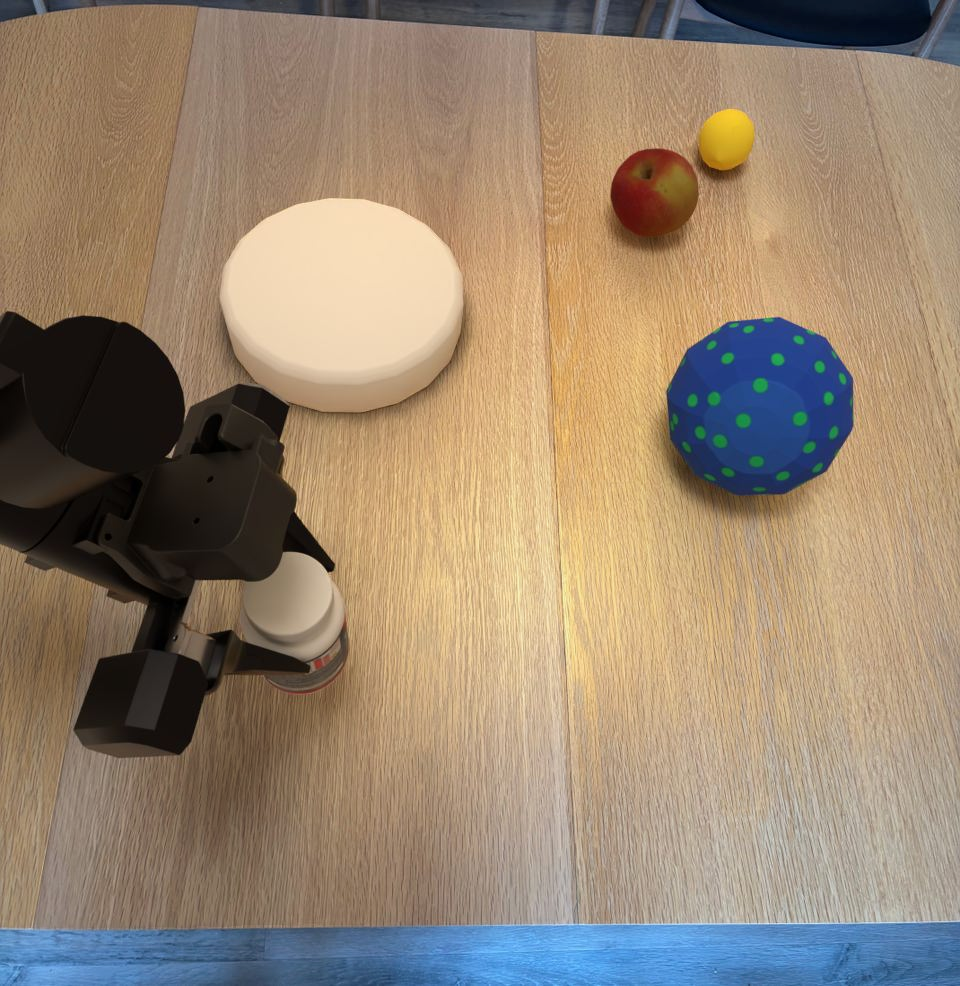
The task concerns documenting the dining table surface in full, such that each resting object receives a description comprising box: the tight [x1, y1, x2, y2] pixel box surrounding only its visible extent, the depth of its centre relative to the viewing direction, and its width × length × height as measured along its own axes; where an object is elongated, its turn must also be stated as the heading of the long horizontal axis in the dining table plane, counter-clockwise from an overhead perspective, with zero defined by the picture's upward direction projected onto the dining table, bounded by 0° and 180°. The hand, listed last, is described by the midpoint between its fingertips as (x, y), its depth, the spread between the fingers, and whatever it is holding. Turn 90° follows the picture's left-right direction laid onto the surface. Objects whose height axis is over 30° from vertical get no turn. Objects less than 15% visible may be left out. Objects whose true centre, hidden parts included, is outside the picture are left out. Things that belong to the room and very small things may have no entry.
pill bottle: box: [239, 552, 350, 696], centre depth 49 cm, size 6×6×10 cm
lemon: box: [698, 108, 756, 171], centre depth 85 cm, size 7×5×5 cm
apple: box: [609, 147, 700, 238], centre depth 79 cm, size 8×8×8 cm
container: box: [218, 197, 464, 413], centre depth 72 cm, size 20×20×5 cm
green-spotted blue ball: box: [665, 316, 855, 497], centre depth 67 cm, size 14×14×15 cm
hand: (318, 619), depth 48 cm, fingers closed on pill bottle, 6 cm apart
